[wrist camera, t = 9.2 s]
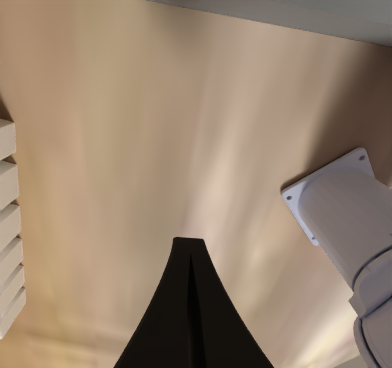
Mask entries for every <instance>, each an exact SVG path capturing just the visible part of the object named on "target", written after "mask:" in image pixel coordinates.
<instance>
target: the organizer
mask: <svg viewBox="0 0 392 368" xmlns="http://www.w3.org/2000/svg"><path fill="white" fill-rule="evenodd" d="M15 152H16V139H15V123H14V122H11V121H7V120H4V119H1V118H0V339H2V338H3V337H4V335H5V334H6V332H7V331H8V329H9V328H10V326H11V325H12V323H13V322H14V320H15V319H16V317H17V316H18V314H19V313H20V311H21V310H22V308H23V307H24V305H25V304H26V293H25V288H21V287H22V286H23V285H24V283H25V278H24V266H21V265H19V264H20V262H21V261H22V260H23V247H22V239H20V238H15V237H16V236H17V235H18V234H19V233H20V232H21V216H20V206H18V205H14V204H10V203H11V202H12V201H13V200H14V199H16V198H17V197H18V196H19V185H18V170H17V165H16V164H12V163H9V162H5V161H1V160H2V159H4V158H6V157H8V156H9V155H11V154H13V153H15Z"/></svg>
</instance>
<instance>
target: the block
mask: <svg viewBox="0 0 392 368" xmlns="http://www.w3.org/2000/svg"><path fill="white" fill-rule="evenodd" d="M148 1H153V2H159V3H164V4H169V5H174V6H179V7H185V8H190V9H195V10H200V11H206V12H211V13H216V14H221V15H227V16H232V17H237V18H242V19H248V20H253V21H258V22H263V23H268V24H274V25H279V26H284V27H289V28H295V29H300V30H305V31H310V32H316V33H321V34H326V35H331V36H337V37H342V38H347V39H352V40H357V41H363V42H368V43H373V44H378V45H384V46H389V47H392V0H148Z"/></svg>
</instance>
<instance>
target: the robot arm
mask: <svg viewBox="0 0 392 368" xmlns="http://www.w3.org/2000/svg"><path fill="white" fill-rule="evenodd" d="M361 156H362V157H361ZM360 157H361V158H360ZM359 158H360V159H359ZM281 196H282V198H283V199H284V201H285V202H286V204H287V205H288V207H289V208H290V210H291V211H292V213H293V214H294V216H295V218H296V219H297V221H298V222H299V224H300V225H301V227H302V228H303V230H304V231H305V233H306V234H307V236H308V238H309V239H310V241H311V242H312V244H313V245H315V246H316V245H320V246H321V247H322V249H323V250H324V251H325V253H326V254H327V256H328V257H329V258H330V260H331V261H332V263H333V264H334V265H335V267H336V268H337V270H338V271H339V273H340V274H341V275H342V277H343V278H344V280H345V281H346V282H347V284H348V285H349V287H350V288H351V289H352V291H353V292H354V294H353V296H352V297H351V298H350V299H349V303H350V304H351V306H352V307H353V309H354V310H355V312H356V313H357V315H358V317H357V318H356V320H355V322H354V327H353V330H354V337H355V341H356V344H357V346H358V349H359V352H360V354H361V356H362V357H363V360H364V362H365V363H366V365H367V367H368V368H392V189H391V188H389V187H387V186H386V185H384V184H383V183H381V182H380V181H378V180H377V179H375V176H374V173H373V170H372V167H371V164H370V161H369V158H368V155H367V152H366V150H365V149H364V148H362V147H359V148H356V149H354V150H353V151H351V152H349V153H347V154H346V155H344V156H342V157H340V158H338V159H337V160H335V161H333V162H331V163H330V164H328V165H326V166H324V167H323V168H321V169H319V170H317V171H315V172H314V173H312V174H310V175H308V176H307V177H305V178H303V179H301V180H300V181H298V182H296V183H294V184H292V185H291V186H289V187H287V188H285V189H284V190H282V192H281ZM288 196H290V197H289V198H287V197H288ZM114 368H274V367H273V365H272V364H271V363H270V361H269V360H268V358H267V357H266V356H265V354H264V353H263V351H262V350H261V349H260V347H259V346H258V344H257V343H256V341H255V340H254V338H253V336H252V335H251V333H250V332H249V330H248V329H247V327H246V325H245V324H244V322H243V321H242V319H241V317H240V316H239V314H238V312H237V311H236V309H235V307H234V305H233V303H232V302H231V300H230V298H229V296H228V294H227V292H226V290H225V289H224V287H223V285H222V282H221V280H220V278H219V276H218V274H217V272H216V270H215V268H214V265H213V263H212V261H211V258H210V256H209V253H208V251H207V248H206V245H205V242H204V240H203V239H198V238H183V237H175V238H173V245H172V249H171V253H170V256H169V259H168V262H167V265H166V268H165V270H164V273H163V275H162V278H161V280H160V283H159V285H158V287H157V289H156V291H155V293H154V296H153V298H152V300H151V302H150V304H149V306H148V308H147V310H146V312H145V314H144V316H143V318H142V319H141V321H140V323H139V325H138V327H137V329H136V330H135V332H134V334H133V336H132V337H131V339H130V341H129V343H128V344H127V346H126V348H125V349H124V351H123V353H122V355H121V356H120V358H119V359H118V361H117V363H116V364H115V366H114Z"/></svg>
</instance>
